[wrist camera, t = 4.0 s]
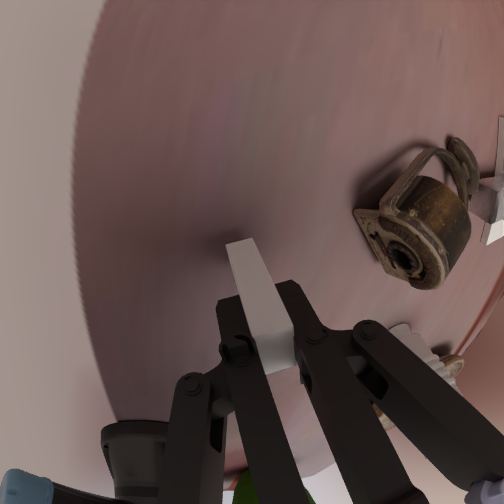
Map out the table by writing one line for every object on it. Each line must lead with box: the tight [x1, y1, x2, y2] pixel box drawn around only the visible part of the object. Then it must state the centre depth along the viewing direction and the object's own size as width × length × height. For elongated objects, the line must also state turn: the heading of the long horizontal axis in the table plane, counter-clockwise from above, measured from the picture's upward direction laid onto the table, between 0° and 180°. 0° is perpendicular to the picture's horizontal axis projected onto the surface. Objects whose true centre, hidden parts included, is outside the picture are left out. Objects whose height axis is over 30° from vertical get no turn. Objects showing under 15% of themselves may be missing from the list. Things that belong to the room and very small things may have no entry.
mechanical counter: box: [353, 137, 480, 290], centre depth 15 cm, size 7×13×10 cm
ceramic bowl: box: [372, 355, 464, 431], centre depth 38 cm, size 23×24×5 cm
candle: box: [388, 324, 463, 459], centre depth 22 cm, size 7×7×15 cm
